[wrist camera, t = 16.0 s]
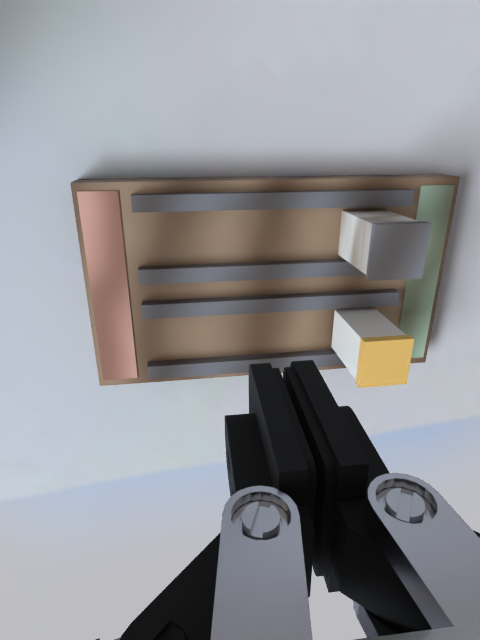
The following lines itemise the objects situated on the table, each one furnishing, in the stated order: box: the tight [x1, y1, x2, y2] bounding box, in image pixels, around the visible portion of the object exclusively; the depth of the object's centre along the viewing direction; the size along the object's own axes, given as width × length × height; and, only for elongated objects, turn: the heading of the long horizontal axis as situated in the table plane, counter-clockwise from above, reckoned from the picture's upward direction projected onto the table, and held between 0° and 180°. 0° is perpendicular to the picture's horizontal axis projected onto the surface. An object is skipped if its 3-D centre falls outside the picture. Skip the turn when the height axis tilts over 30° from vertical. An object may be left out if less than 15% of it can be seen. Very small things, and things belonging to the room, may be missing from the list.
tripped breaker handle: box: [331, 308, 414, 388], centre depth 30 cm, size 3×3×6 cm
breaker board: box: [71, 175, 459, 386], centre depth 29 cm, size 25×14×8 cm, turn 90°
